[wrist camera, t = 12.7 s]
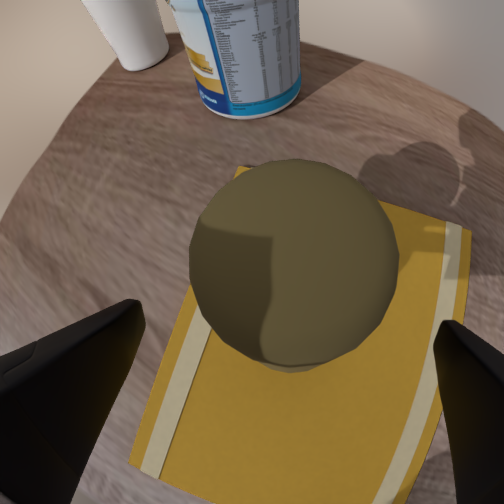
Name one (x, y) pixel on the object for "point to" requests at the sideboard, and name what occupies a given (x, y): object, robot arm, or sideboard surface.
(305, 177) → the cork
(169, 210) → the sideboard surface
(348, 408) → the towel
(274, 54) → the blue plastic jar
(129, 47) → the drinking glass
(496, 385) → the robot arm
